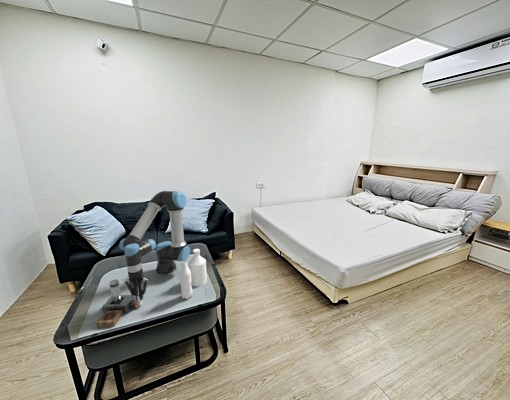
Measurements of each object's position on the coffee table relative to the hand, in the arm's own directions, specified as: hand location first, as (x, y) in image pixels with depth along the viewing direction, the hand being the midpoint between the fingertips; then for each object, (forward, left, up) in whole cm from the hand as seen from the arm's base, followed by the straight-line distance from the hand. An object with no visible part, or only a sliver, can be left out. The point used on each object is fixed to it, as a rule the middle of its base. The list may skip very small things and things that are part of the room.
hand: (140, 304), depth 132 cm
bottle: (-32, -22, -2) cm, 39 cm away
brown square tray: (+12, +10, -1) cm, 16 cm away
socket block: (+13, 0, -1) cm, 13 cm away
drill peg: (+13, 0, -1) cm, 13 cm away
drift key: (+5, 0, -1) cm, 5 cm away
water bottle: (-27, -6, -2) cm, 28 cm away
